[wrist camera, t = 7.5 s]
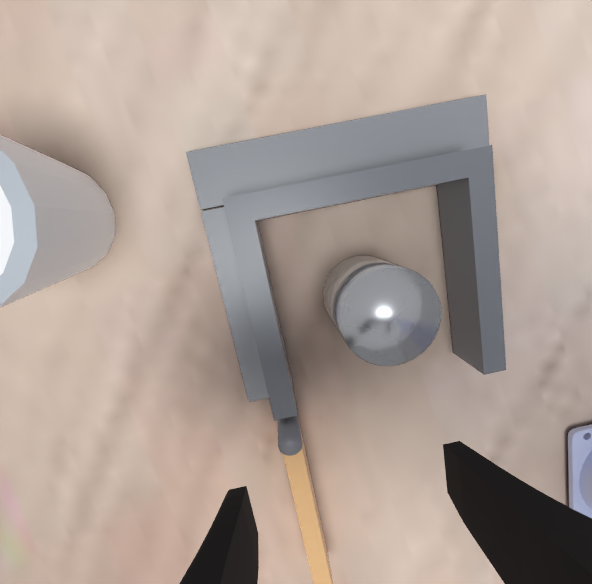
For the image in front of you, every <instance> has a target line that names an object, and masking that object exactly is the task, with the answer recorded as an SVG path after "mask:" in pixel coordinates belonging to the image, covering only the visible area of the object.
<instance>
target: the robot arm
mask: <svg viewBox="0 0 592 584" xmlns="http://www.w3.org/2000/svg"><path fill="white" fill-rule="evenodd" d="M443 448H444V459H445V469H446V480H447V490H448V494H449V496H450V498H451V499H452V501H453V503H454V505H455V507H456V509H457V511H458V513H459V515H460V516H461V518H462V520H463V522H464V523H465V525H466V527H467V528H468V530H469V531H470V533H471V534H472V536H473V537H474V539H475V540H476V542H477V543H478V545H479V546H480V548H481V549H482V551H483V552H484V553H485V555H486V556H487V558H488V559H489V561H490V562H491V564H492V565H493V567H494V568H495V570H496V571H497V573H498V574H499V576H500V577H501V579H502V580H503V582H504V583H505V584H592V424H591V425H587V426H582V427H578V428H574V429H572V430H570V431H569V433H568V470H569V507H568V506H566V505H564V504H562V503H560V502H558V501H556V500H554V499H553V498H551V497H549V496H547V495H545V494H544V493H542V492H540V491H538V490H536V489H535V488H533V487H531V486H530V485H528V484H526V483H524V482H523V481H521V480H519V479H518V478H516V477H515V476H513V475H511V474H510V473H508V472H506V471H505V470H503V469H502V468H500V467H499V466H497V465H495V464H494V463H492V462H491V461H489V460H488V459H486V458H485V457H483V456H482V455H480V454H479V453H477V452H475V451H474V450H472V449H471V448H469V447H468V446H466V445H465V444H463V443H462V442H460V441H458V442H453V443H449V444H444V445H443ZM257 580H258V531H257V527H256V523H255V519H254V515H253V511H252V507H251V503H250V499H249V495H248V491H247V487H246V486H245V487H240V488H235V489H231V490H229V491H228V492H227V494H226V496H225V498H224V501H223V503H222V505H221V507H220V509H219V511H218V514H217V516H216V518H215V520H214V522H213V524H212V526H211V528H210V530H209V532H208V534H207V536H206V538H205V539H204V541H203V543H202V545H201V547H200V549H199V551H198V553H197V554H196V556H195V558H194V560H193V561H192V563H191V565H190V567H189V568H188V570H187V572H186V574H185V575H184V577H183V579H182V580H181V582H180V584H257Z"/></svg>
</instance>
